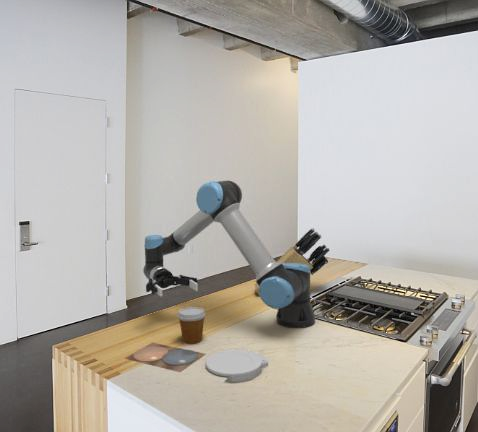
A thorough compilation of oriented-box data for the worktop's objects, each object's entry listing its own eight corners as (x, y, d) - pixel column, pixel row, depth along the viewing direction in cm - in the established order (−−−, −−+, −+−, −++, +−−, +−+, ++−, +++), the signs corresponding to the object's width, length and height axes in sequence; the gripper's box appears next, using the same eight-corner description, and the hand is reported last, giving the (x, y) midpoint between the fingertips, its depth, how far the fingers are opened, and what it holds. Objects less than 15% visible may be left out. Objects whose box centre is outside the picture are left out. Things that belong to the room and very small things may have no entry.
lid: (281, 370, 132) (281, 361, 132) (224, 390, 122) (223, 379, 121) (249, 351, 147) (249, 342, 146) (196, 367, 136) (195, 357, 136)
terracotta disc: (175, 351, 144) (175, 349, 144) (153, 364, 135) (153, 363, 134) (149, 345, 149) (148, 344, 149) (126, 358, 140) (126, 356, 140)
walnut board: (206, 358, 141) (206, 353, 141) (180, 377, 129) (180, 372, 129) (152, 346, 152) (152, 342, 152) (124, 362, 140) (123, 358, 140)
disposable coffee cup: (179, 339, 157) (178, 307, 156) (206, 338, 158) (205, 306, 157) (178, 350, 148) (176, 316, 147) (206, 349, 149) (205, 314, 147)
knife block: (330, 295, 206) (330, 230, 203) (255, 297, 207) (253, 232, 203) (326, 288, 217) (325, 226, 214) (254, 290, 218) (253, 228, 214)
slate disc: (204, 354, 141) (204, 353, 141) (183, 368, 131) (183, 367, 131) (176, 348, 146) (176, 347, 146) (155, 361, 137) (154, 360, 137)
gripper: (190, 282, 185) (210, 294, 166) (131, 290, 174) (146, 305, 155) (190, 264, 184) (210, 275, 165) (130, 271, 173) (145, 284, 154)
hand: (179, 290), depth 160 cm, fingers open, 13 cm apart
